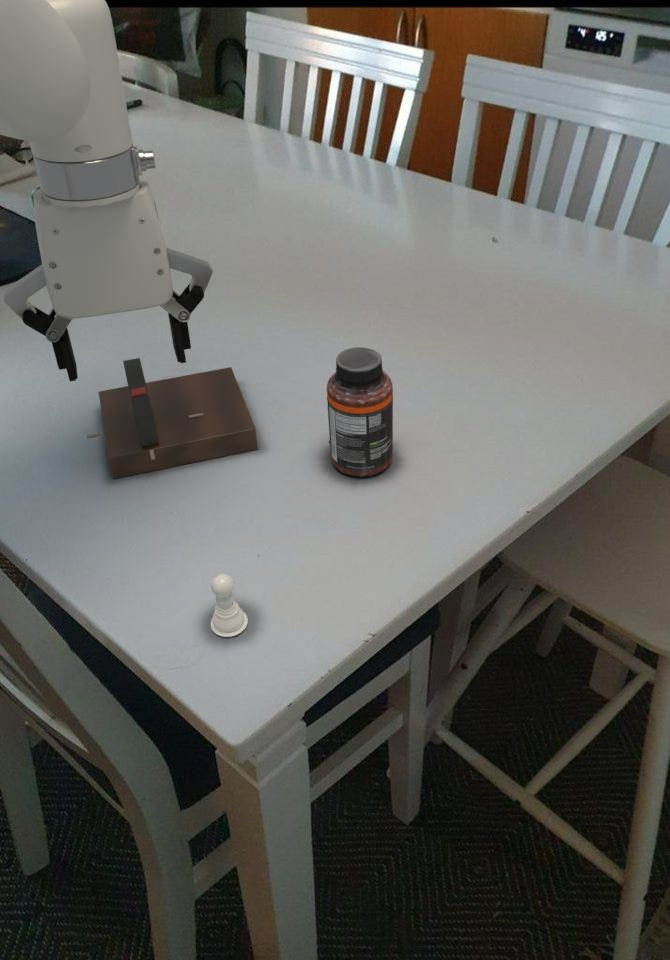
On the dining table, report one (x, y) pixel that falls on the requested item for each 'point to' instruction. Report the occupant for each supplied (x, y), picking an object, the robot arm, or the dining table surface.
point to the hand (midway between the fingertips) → (127, 364)
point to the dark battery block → (140, 402)
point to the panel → (178, 423)
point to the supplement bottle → (360, 413)
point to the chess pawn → (226, 608)
